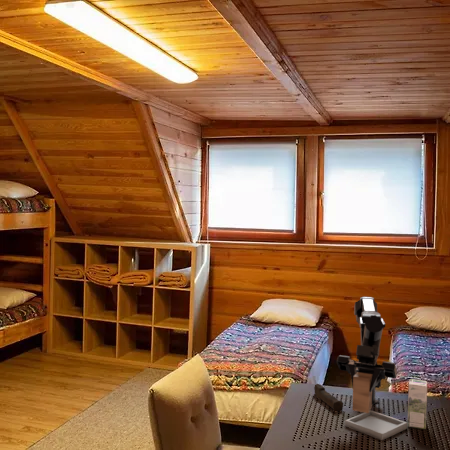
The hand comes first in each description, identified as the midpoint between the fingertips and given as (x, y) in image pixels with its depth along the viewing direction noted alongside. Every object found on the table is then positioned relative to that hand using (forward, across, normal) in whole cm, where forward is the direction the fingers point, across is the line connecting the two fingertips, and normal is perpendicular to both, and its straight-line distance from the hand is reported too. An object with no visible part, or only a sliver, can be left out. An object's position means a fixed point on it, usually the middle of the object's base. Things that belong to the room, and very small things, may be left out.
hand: (361, 390), depth 182 cm
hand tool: (-4, -18, +23) cm, 29 cm away
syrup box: (0, +15, +19) cm, 24 cm away
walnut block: (+4, 0, +6) cm, 7 cm away
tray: (+6, +4, +13) cm, 15 cm away
